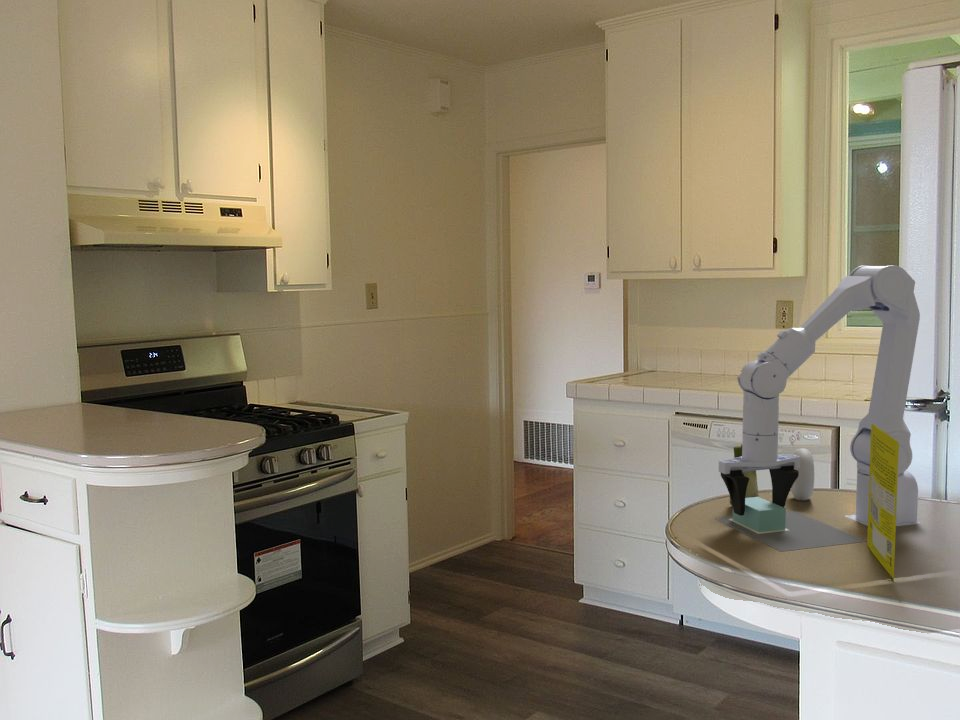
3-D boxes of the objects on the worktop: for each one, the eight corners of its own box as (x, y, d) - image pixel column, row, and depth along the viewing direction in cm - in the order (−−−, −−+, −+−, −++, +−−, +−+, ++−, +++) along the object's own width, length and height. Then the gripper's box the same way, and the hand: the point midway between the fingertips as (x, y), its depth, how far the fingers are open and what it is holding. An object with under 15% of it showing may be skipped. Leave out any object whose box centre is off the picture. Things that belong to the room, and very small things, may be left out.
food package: (897, 583, 128) (902, 442, 126) (889, 582, 128) (894, 442, 126) (870, 549, 143) (875, 423, 141) (863, 549, 143) (867, 423, 141)
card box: (785, 529, 152) (785, 508, 152) (758, 532, 151) (759, 511, 150) (757, 516, 160) (758, 496, 159) (732, 519, 158) (732, 499, 158)
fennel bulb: (753, 503, 171) (754, 440, 170) (765, 510, 166) (766, 445, 165) (723, 505, 170) (724, 441, 169) (734, 512, 165) (735, 447, 164)
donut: (815, 507, 167) (816, 454, 166) (795, 507, 168) (796, 453, 167) (807, 494, 177) (808, 443, 176) (788, 493, 178) (789, 443, 177)
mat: (794, 514, 164) (794, 510, 163) (867, 544, 145) (867, 540, 145) (714, 522, 159) (714, 518, 159) (780, 555, 141) (780, 551, 141)
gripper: (783, 426, 159) (781, 502, 161) (709, 431, 155) (708, 509, 157) (808, 433, 153) (806, 512, 154) (732, 438, 148) (730, 520, 150)
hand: (758, 512), depth 155 cm, fingers open, 7 cm apart
